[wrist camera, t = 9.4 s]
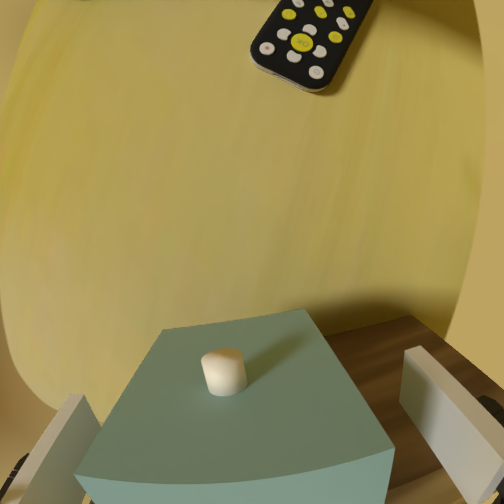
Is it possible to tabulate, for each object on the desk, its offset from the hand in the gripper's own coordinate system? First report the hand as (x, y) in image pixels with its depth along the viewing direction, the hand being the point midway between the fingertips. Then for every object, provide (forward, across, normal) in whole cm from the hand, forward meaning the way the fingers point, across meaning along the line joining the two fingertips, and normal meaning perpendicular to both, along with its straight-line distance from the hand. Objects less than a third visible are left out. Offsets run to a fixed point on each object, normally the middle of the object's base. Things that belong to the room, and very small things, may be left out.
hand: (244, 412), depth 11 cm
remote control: (+13, +9, +21) cm, 26 cm away
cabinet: (+4, 0, -3) cm, 5 cm away
